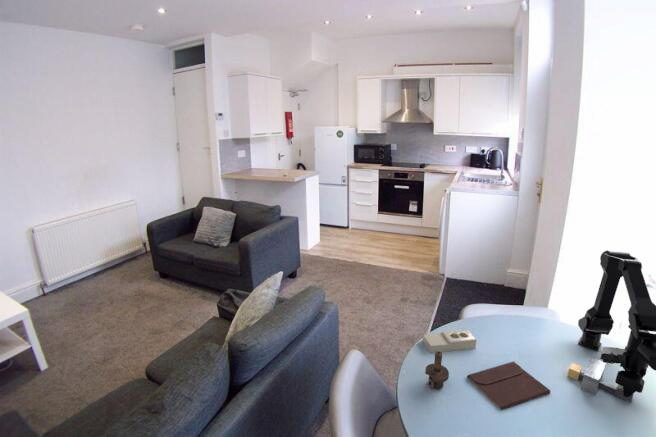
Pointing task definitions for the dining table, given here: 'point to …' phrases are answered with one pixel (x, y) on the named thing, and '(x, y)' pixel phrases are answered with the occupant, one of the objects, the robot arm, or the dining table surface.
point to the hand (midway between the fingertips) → (626, 392)
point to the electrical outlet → (449, 341)
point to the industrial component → (437, 372)
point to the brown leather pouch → (508, 385)
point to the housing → (593, 376)
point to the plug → (576, 373)
